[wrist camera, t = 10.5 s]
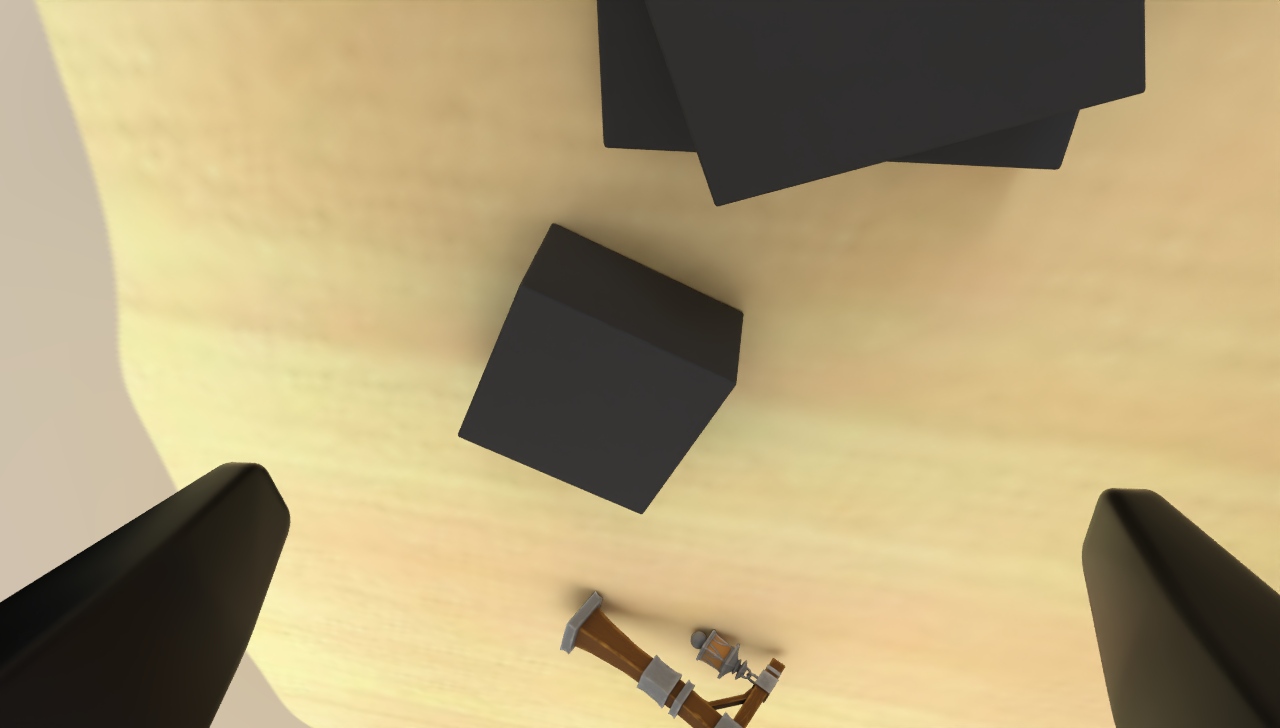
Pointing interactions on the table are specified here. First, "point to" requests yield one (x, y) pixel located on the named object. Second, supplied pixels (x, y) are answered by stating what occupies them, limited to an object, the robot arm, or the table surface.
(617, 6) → the base pad
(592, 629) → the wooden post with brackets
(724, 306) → the dark gray block
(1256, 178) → the table surface
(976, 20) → the charcoal square block
